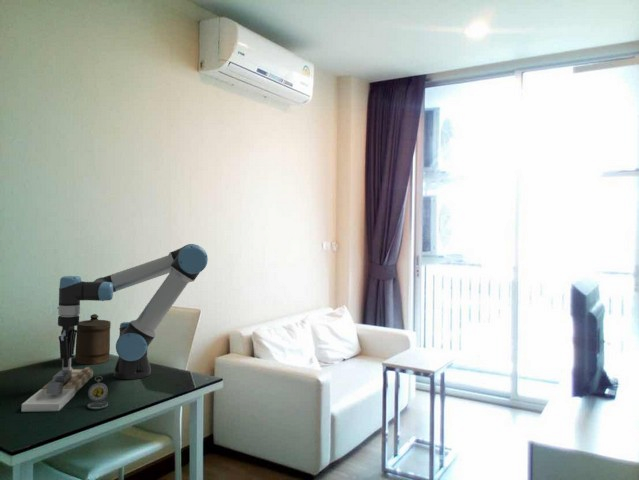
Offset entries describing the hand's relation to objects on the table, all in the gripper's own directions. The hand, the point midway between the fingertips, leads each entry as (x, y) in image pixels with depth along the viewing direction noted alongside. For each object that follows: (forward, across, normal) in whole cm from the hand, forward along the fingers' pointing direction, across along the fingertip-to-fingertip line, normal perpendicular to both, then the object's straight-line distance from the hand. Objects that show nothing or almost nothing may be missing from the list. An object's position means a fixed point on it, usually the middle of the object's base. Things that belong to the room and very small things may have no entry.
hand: (66, 374), depth 193 cm
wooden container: (+5, -40, -2) cm, 41 cm away
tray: (+5, +18, +1) cm, 18 cm away
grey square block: (+2, +7, 0) cm, 7 cm away
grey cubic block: (+2, +11, 0) cm, 11 cm away
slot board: (+5, -3, 0) cm, 6 cm away
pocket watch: (+5, +21, +18) cm, 28 cm away
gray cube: (+2, +3, 0) cm, 3 cm away
